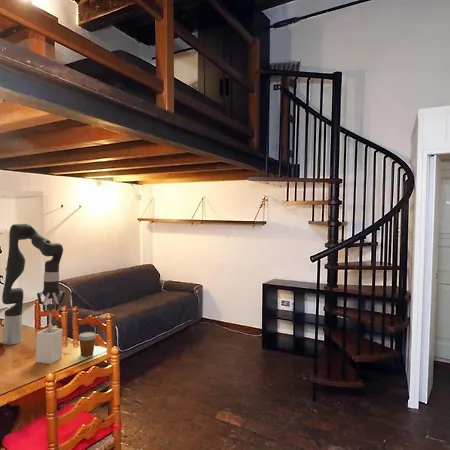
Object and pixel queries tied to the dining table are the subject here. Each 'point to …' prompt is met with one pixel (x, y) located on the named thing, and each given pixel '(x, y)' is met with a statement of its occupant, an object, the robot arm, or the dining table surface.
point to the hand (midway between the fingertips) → (50, 310)
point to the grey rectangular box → (49, 346)
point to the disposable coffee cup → (87, 343)
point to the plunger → (50, 308)
